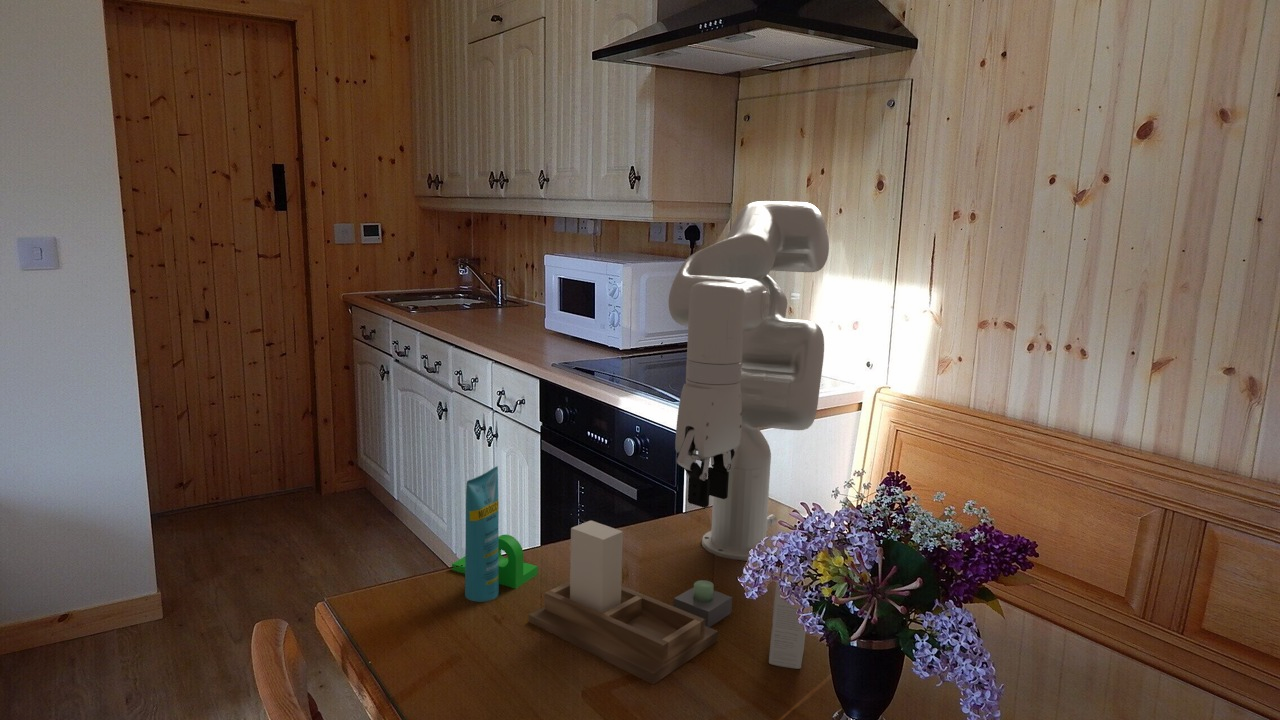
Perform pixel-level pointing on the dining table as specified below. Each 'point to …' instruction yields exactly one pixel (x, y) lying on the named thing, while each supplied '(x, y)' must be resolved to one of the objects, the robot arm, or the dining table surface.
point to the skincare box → (786, 635)
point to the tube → (482, 537)
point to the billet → (596, 566)
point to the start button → (703, 591)
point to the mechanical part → (508, 563)
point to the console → (705, 606)
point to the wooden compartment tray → (628, 631)
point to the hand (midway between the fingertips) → (707, 499)
